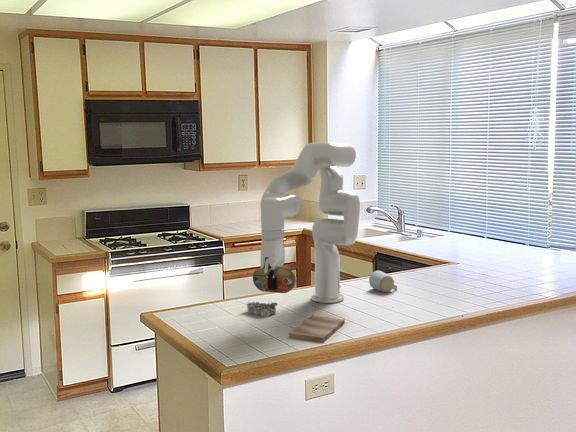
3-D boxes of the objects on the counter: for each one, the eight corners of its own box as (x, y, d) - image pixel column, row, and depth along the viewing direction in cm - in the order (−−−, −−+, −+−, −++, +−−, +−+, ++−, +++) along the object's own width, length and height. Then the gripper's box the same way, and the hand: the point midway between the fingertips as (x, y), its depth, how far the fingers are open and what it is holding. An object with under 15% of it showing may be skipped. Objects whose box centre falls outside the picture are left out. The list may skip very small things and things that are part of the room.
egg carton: (279, 314, 230) (279, 303, 229) (264, 318, 225) (264, 307, 224) (258, 308, 237) (258, 297, 237) (243, 312, 232) (243, 301, 231)
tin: (253, 290, 215) (251, 266, 214) (257, 287, 218) (255, 264, 216) (293, 294, 209) (292, 270, 208) (297, 291, 212) (296, 267, 210)
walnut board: (312, 319, 222) (312, 315, 222) (344, 323, 217) (344, 319, 217) (288, 337, 204) (288, 332, 204) (323, 342, 199) (323, 337, 199)
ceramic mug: (380, 294, 253) (380, 275, 252) (368, 289, 260) (369, 271, 259) (401, 291, 258) (402, 272, 257) (389, 286, 265) (390, 268, 264)
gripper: (273, 229, 219) (274, 280, 222) (251, 238, 204) (253, 293, 208) (293, 230, 216) (294, 282, 219) (272, 239, 201) (274, 295, 205)
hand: (274, 287), depth 213 cm, fingers closed on tin, 2 cm apart
